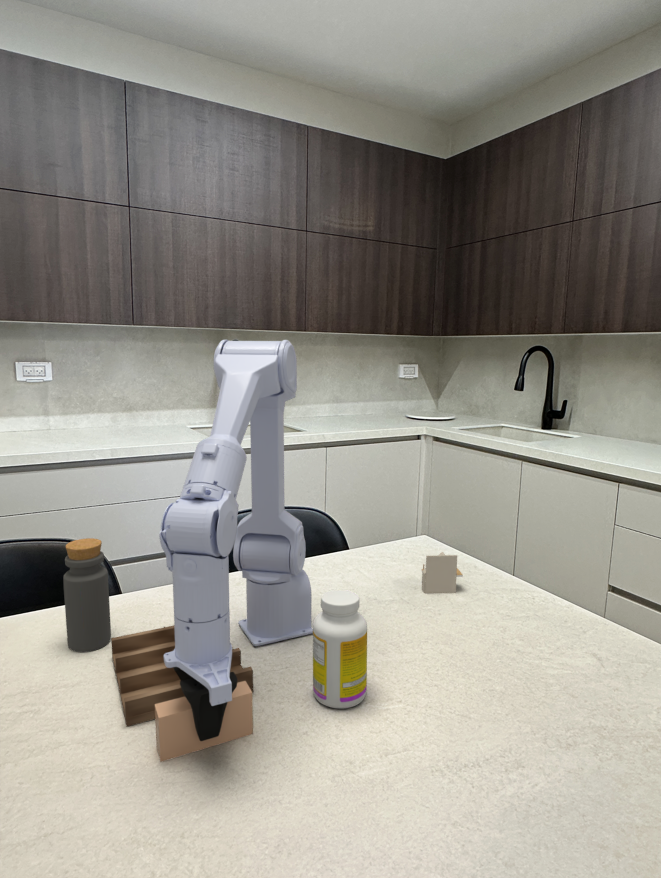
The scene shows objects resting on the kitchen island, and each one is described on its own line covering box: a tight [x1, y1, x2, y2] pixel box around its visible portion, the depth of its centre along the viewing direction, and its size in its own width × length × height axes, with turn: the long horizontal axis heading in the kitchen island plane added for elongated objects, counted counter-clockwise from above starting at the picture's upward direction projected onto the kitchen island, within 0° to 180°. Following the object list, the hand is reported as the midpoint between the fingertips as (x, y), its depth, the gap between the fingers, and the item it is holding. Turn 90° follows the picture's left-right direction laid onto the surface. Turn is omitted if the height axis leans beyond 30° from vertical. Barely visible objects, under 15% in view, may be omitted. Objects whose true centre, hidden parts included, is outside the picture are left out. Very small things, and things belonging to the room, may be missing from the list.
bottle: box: [62, 537, 112, 653], centre depth 80 cm, size 6×6×15 cm
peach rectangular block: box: [154, 681, 254, 763], centre depth 61 cm, size 10×2×5 cm, turn 116°
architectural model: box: [421, 551, 464, 595], centre depth 101 cm, size 3×7×7 cm, turn 94°
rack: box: [110, 624, 254, 727], centre depth 73 cm, size 15×16×3 cm
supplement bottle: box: [312, 588, 368, 709], centre depth 69 cm, size 7×7×13 cm
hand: (205, 728), depth 61 cm, fingers closed on peach rectangular block, 2 cm apart
